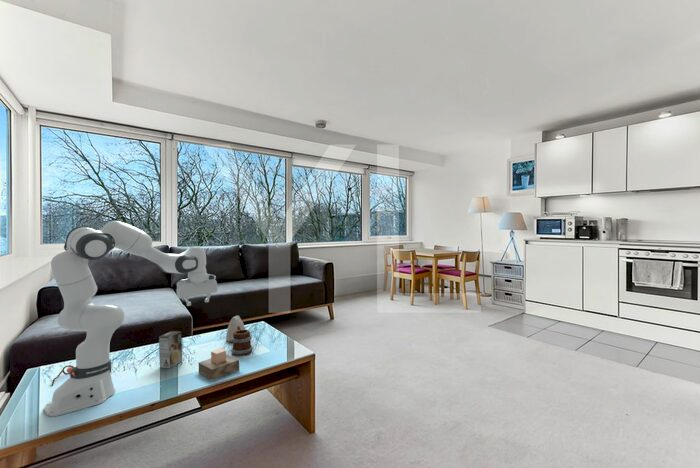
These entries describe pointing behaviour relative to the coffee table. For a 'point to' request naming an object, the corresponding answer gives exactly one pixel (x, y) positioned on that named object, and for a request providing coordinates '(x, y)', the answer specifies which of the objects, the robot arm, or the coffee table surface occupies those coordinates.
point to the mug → (241, 342)
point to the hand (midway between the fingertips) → (198, 303)
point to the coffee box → (170, 349)
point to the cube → (218, 356)
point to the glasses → (61, 372)
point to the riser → (218, 367)
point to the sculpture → (234, 327)
